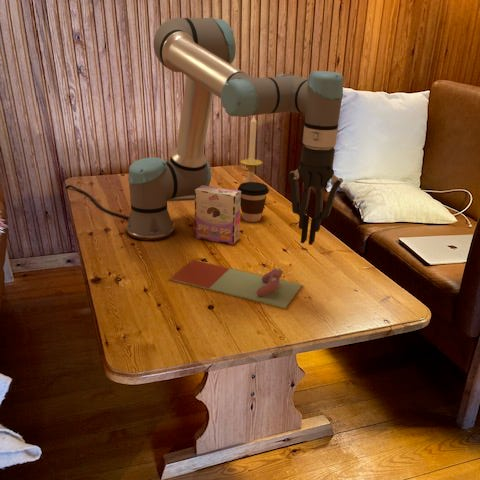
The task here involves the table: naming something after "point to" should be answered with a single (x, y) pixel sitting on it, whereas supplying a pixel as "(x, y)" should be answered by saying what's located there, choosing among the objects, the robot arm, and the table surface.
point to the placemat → (235, 283)
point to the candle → (251, 153)
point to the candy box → (217, 214)
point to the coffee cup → (252, 200)
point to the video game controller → (270, 282)
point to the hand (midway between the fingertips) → (307, 241)
